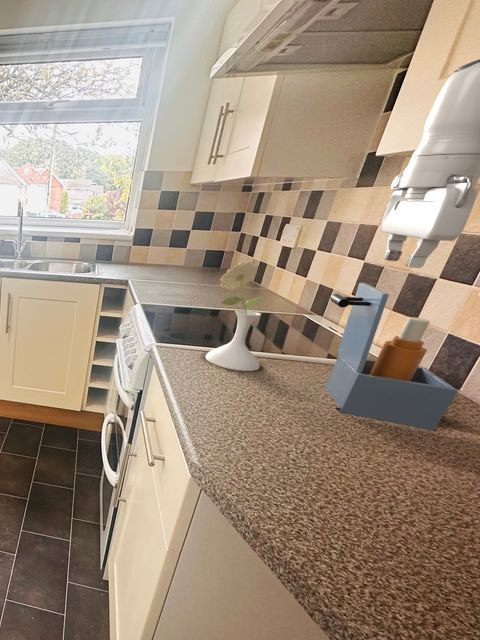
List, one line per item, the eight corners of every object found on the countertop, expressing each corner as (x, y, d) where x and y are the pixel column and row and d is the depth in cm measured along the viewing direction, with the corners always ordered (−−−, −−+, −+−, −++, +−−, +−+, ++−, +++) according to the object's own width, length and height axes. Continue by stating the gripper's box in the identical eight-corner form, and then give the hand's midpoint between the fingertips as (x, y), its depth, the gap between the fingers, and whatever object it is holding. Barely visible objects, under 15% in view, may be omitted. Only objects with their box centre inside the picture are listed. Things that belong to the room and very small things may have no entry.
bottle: (386, 405, 83) (432, 318, 75) (398, 418, 78) (448, 325, 71) (351, 399, 85) (392, 313, 77) (360, 411, 80) (405, 320, 73)
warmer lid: (364, 282, 80) (329, 281, 82) (389, 293, 70) (348, 292, 72) (342, 353, 85) (309, 350, 87) (362, 372, 76) (324, 368, 78)
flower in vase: (247, 362, 105) (282, 260, 94) (265, 380, 95) (306, 267, 84) (191, 356, 107) (219, 256, 97) (202, 372, 97) (235, 263, 87)
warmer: (403, 407, 84) (425, 367, 80) (432, 434, 75) (458, 390, 71) (321, 393, 89) (338, 354, 86) (338, 416, 80) (358, 374, 76)
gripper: (507, 173, 58) (456, 274, 64) (435, 179, 75) (400, 258, 81) (446, 173, 61) (403, 270, 66) (390, 179, 78) (359, 256, 83)
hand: (401, 263), depth 74 cm, fingers open, 8 cm apart
